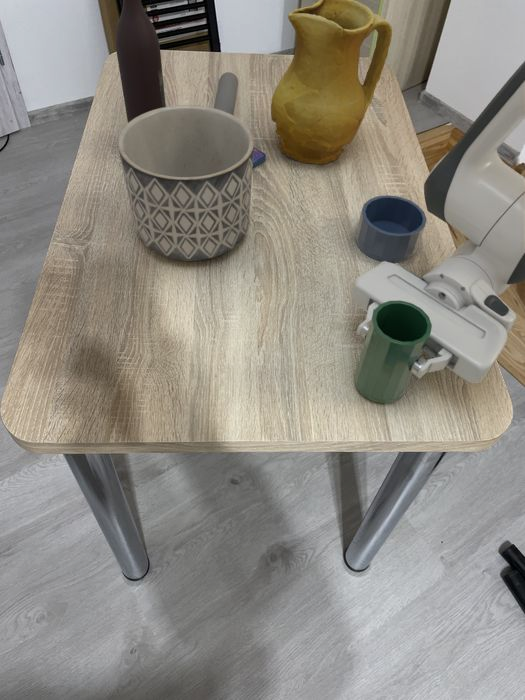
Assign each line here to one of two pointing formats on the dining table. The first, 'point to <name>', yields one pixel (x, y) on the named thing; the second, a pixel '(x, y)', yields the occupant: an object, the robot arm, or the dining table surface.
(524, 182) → the robot arm
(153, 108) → the wine bottle
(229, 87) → the gray half cylinder
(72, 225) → the dining table surface
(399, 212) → the wide cup
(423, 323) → the slim cup
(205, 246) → the planter
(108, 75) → the dining table surface
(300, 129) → the pitcher
